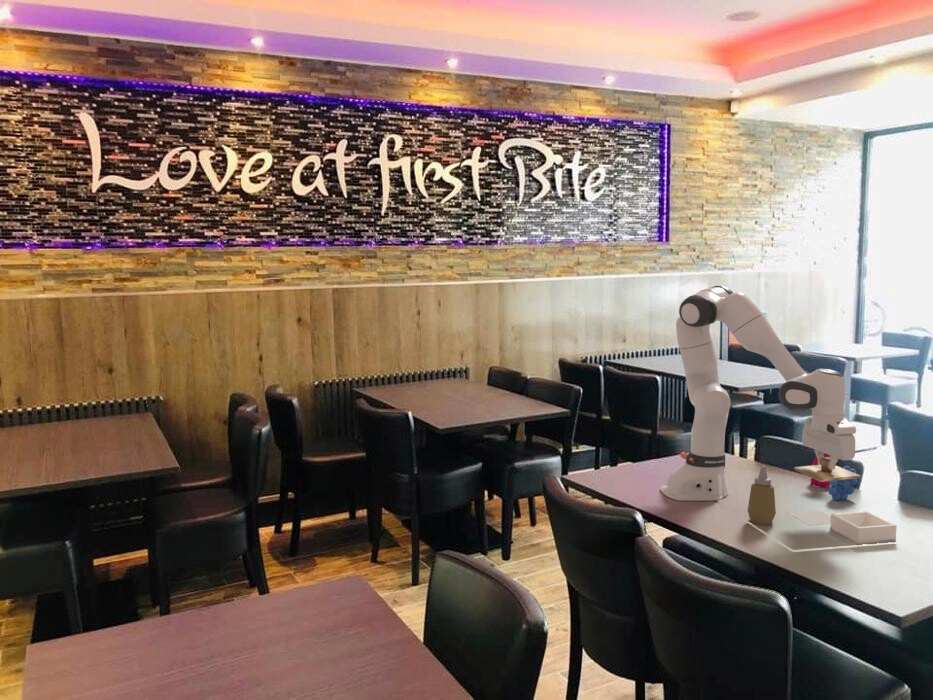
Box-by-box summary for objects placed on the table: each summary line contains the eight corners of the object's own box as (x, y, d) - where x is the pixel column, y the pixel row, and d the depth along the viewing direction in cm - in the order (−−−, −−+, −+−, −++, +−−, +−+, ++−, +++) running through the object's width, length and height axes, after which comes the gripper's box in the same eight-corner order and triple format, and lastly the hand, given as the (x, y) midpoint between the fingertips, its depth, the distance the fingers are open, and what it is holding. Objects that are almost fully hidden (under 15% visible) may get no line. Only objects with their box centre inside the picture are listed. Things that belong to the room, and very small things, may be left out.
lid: (820, 481, 214) (821, 466, 213) (794, 469, 227) (794, 454, 226) (860, 478, 216) (860, 462, 215) (831, 466, 229) (832, 451, 228)
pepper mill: (833, 488, 256) (836, 433, 254) (812, 487, 258) (814, 432, 255) (828, 482, 263) (830, 428, 261) (806, 481, 265) (809, 427, 262)
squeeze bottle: (762, 529, 218) (765, 471, 216) (741, 521, 225) (743, 465, 223) (781, 525, 222) (783, 468, 219) (759, 517, 229) (761, 461, 227)
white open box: (857, 545, 206) (858, 528, 205) (830, 529, 217) (831, 513, 217) (895, 542, 207) (896, 525, 207) (866, 527, 219) (866, 511, 219)
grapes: (844, 494, 249) (846, 460, 248) (861, 500, 243) (863, 466, 241) (818, 498, 245) (820, 464, 244) (834, 505, 239) (836, 469, 238)
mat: (809, 526, 220) (809, 524, 220) (787, 514, 231) (787, 512, 231) (841, 524, 222) (842, 522, 222) (818, 512, 233) (818, 510, 232)
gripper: (797, 416, 229) (796, 458, 231) (840, 430, 209) (838, 477, 211) (815, 415, 230) (814, 457, 232) (860, 429, 210) (858, 475, 212)
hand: (826, 467), depth 221 cm, fingers closed on lid, 3 cm apart
